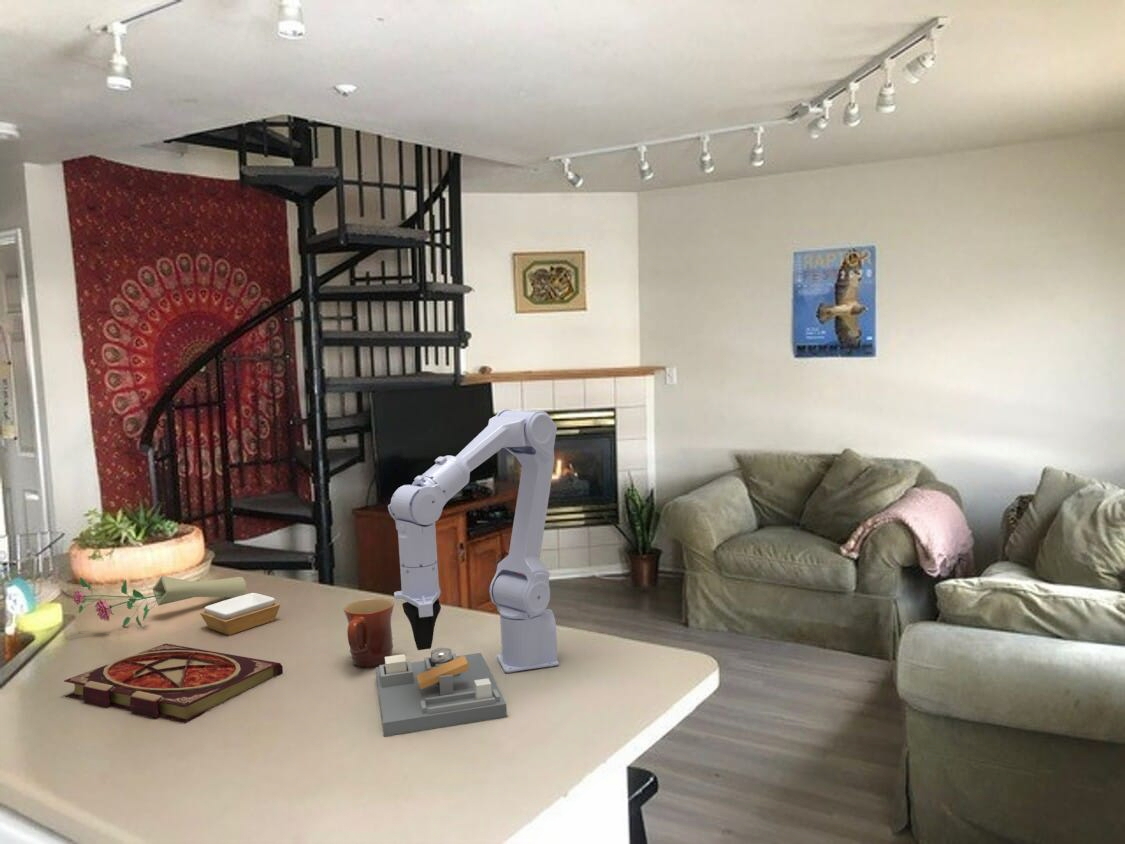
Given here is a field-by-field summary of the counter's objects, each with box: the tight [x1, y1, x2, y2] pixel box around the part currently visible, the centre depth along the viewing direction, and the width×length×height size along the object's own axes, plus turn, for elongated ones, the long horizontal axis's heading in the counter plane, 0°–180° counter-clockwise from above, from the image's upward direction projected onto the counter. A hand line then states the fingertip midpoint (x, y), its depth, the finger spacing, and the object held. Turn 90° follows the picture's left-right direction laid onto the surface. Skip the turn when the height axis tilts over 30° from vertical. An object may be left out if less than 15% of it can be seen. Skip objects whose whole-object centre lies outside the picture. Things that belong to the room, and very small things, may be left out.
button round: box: [430, 647, 453, 666], centre depth 138 cm, size 3×3×2 cm
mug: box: [343, 597, 395, 668], centre depth 147 cm, size 12×9×10 cm
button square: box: [384, 654, 407, 674], centre depth 135 cm, size 3×3×2 cm
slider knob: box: [474, 678, 492, 700], centre depth 126 cm, size 2×2×3 cm
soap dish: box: [200, 592, 281, 636], centre depth 172 cm, size 12×10×5 cm
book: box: [63, 643, 284, 724], centre depth 142 cm, size 28×21×5 cm
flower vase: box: [72, 575, 247, 629], centre depth 178 cm, size 12×12×35 cm
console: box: [375, 652, 508, 737], centre depth 133 cm, size 18×22×5 cm
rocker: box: [417, 655, 470, 689], centre depth 131 cm, size 8×4×1 cm, turn 106°
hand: (423, 648), depth 130 cm, fingers closed
